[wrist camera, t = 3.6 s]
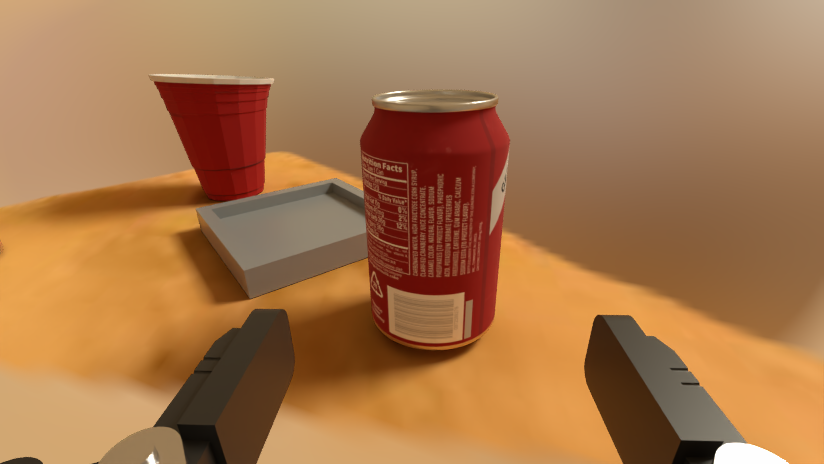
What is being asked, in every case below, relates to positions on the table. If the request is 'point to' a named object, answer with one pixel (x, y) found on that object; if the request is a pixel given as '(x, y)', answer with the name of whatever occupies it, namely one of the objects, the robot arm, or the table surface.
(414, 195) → the soda can
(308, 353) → the table surface
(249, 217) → the serving tray
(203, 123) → the plastic cup
